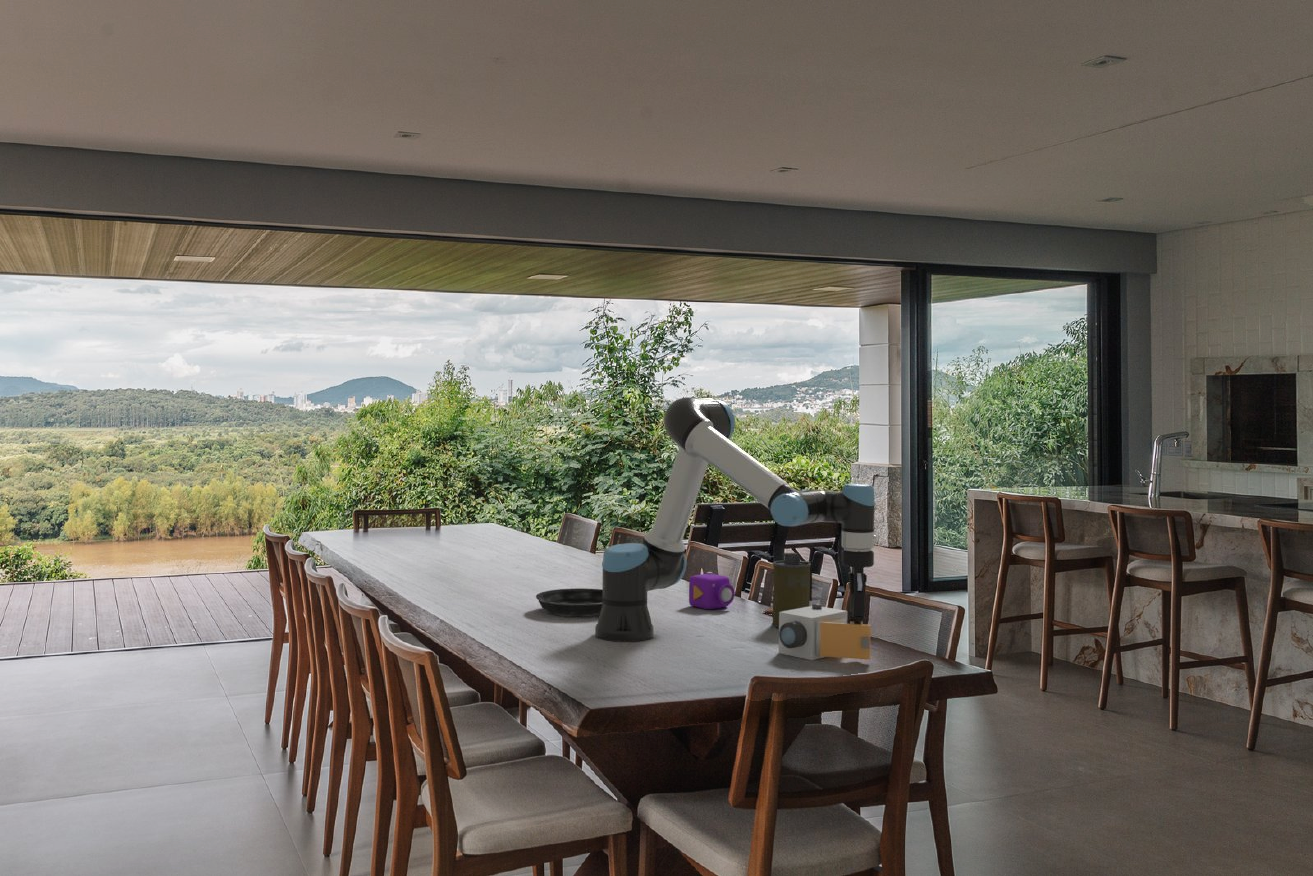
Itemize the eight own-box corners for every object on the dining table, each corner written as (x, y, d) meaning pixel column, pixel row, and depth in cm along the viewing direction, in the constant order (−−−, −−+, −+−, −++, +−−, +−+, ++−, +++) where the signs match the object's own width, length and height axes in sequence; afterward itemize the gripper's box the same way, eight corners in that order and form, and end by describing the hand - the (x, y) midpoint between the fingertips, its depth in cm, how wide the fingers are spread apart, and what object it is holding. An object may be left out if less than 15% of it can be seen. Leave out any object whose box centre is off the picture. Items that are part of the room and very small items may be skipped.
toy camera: (722, 613, 311) (722, 579, 311) (684, 607, 319) (684, 574, 319) (742, 608, 319) (742, 574, 319) (704, 602, 328) (705, 570, 328)
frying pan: (576, 624, 291) (576, 600, 291) (517, 612, 309) (517, 588, 309) (683, 605, 323) (683, 583, 323) (624, 595, 340) (624, 573, 340)
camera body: (803, 662, 249) (804, 615, 249) (769, 655, 257) (770, 609, 256) (847, 651, 262) (848, 607, 261) (813, 645, 269) (814, 601, 269)
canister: (780, 630, 286) (781, 556, 286) (765, 623, 296) (767, 551, 296) (817, 628, 289) (819, 555, 289) (801, 621, 299) (803, 550, 299)
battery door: (815, 656, 251) (815, 622, 251) (816, 655, 253) (816, 621, 253) (869, 660, 248) (870, 626, 248) (870, 658, 250) (870, 624, 250)
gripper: (877, 553, 246) (875, 654, 247) (870, 546, 259) (869, 642, 259) (844, 552, 247) (842, 653, 247) (839, 545, 259) (838, 642, 260)
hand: (856, 648), depth 253 cm, fingers closed
